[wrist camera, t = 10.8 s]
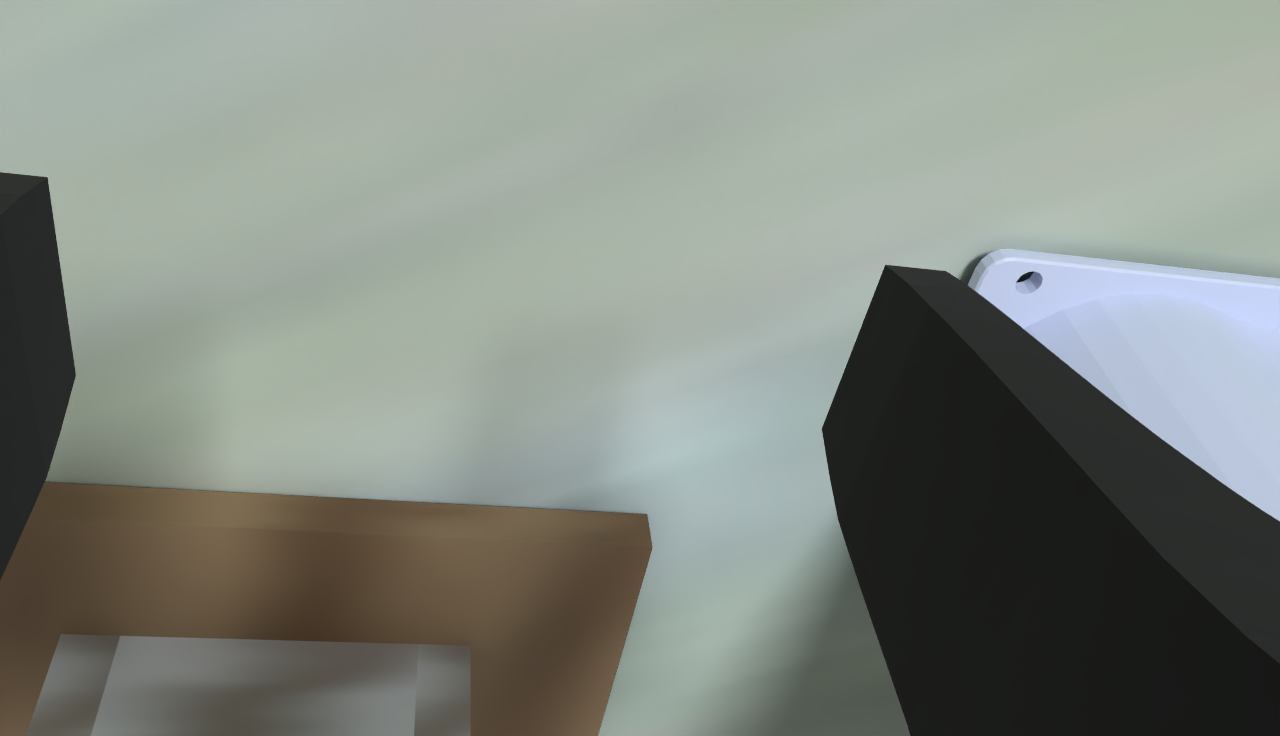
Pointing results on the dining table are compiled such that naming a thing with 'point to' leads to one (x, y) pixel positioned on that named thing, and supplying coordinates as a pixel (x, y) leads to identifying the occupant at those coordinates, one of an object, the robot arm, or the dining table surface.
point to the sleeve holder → (311, 616)
